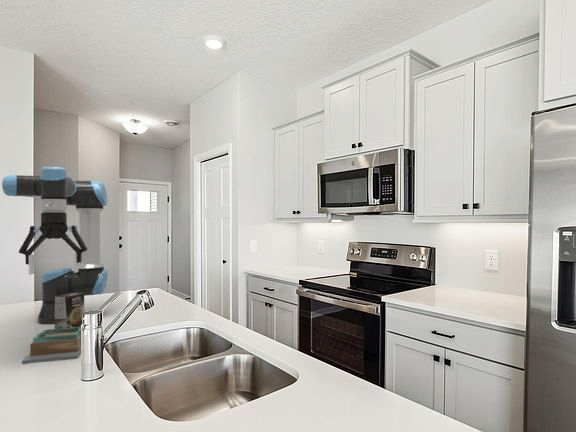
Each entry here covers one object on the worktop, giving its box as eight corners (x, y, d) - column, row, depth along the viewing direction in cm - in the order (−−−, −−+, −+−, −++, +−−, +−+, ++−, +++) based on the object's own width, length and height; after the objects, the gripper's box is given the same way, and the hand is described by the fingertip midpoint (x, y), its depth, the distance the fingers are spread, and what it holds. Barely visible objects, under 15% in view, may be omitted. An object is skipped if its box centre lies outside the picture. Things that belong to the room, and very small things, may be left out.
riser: (43, 344, 134) (43, 329, 134) (86, 340, 138) (85, 325, 138) (30, 356, 122) (30, 339, 122) (77, 351, 126) (77, 335, 126)
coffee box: (68, 338, 144) (67, 297, 144) (54, 337, 145) (53, 296, 145) (85, 331, 153) (85, 292, 153) (71, 330, 154) (71, 291, 154)
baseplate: (44, 343, 138) (44, 340, 138) (91, 339, 142) (91, 336, 142) (21, 364, 118) (21, 360, 118) (77, 358, 123) (77, 355, 123)
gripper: (6, 211, 120) (7, 276, 120) (91, 211, 127) (91, 272, 127) (16, 212, 127) (17, 273, 127) (96, 211, 134) (96, 269, 134)
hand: (54, 273), depth 127 cm, fingers open, 13 cm apart
